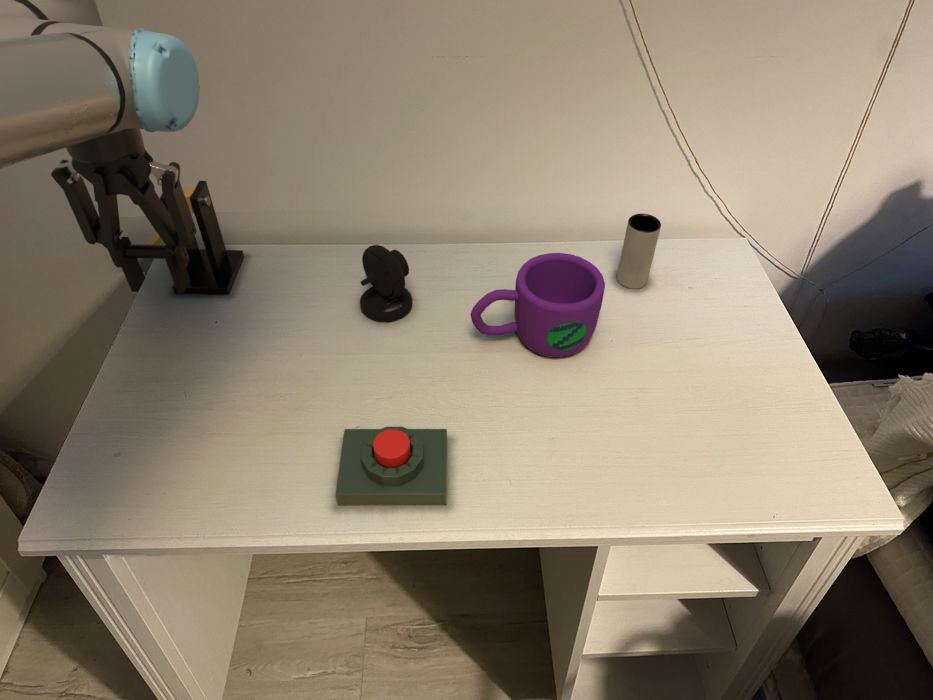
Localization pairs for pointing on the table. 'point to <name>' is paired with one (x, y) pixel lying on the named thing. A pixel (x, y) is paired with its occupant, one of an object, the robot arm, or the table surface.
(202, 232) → the switch bracket
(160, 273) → the table surface
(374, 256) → the webcam
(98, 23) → the robot arm
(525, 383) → the table surface
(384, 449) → the red button
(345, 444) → the button block
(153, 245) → the switch lever
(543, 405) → the table surface
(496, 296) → the mug
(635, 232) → the grey hollow cylinder
